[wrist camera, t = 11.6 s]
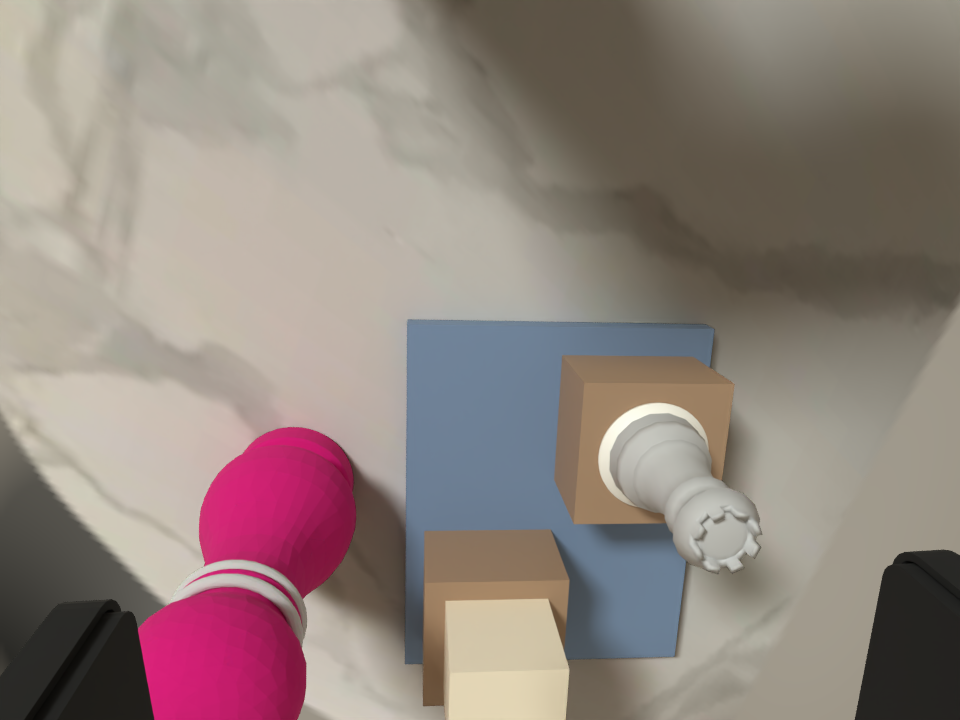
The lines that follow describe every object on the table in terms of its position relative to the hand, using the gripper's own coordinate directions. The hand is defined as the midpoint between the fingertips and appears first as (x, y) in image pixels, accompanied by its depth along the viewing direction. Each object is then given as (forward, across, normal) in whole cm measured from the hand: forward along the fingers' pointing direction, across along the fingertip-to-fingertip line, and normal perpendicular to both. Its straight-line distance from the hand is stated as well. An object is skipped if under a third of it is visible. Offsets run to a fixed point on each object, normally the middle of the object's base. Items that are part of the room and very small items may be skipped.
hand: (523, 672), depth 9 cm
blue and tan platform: (+28, -6, +13) cm, 31 cm away
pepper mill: (+28, +8, +11) cm, 31 cm away
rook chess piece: (+22, -9, +7) cm, 25 cm away
